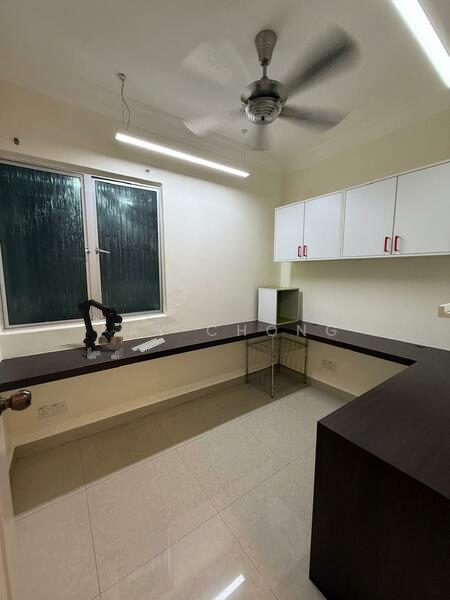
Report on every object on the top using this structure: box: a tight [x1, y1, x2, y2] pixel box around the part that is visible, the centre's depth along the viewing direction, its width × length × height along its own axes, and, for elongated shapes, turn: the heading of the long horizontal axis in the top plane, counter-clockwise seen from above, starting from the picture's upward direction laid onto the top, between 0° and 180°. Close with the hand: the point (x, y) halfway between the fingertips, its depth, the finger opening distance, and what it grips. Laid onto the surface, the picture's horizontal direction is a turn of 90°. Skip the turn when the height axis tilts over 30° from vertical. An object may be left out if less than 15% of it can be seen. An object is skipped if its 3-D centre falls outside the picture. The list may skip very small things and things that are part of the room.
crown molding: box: [130, 337, 166, 353], centre depth 216 cm, size 31×12×4 cm, turn 158°
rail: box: [97, 335, 124, 345], centre depth 198 cm, size 18×4×5 cm, turn 90°
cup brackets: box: [87, 346, 124, 360], centre depth 189 cm, size 25×8×7 cm, turn 92°
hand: (110, 341), depth 198 cm, fingers closed on rail, 4 cm apart
